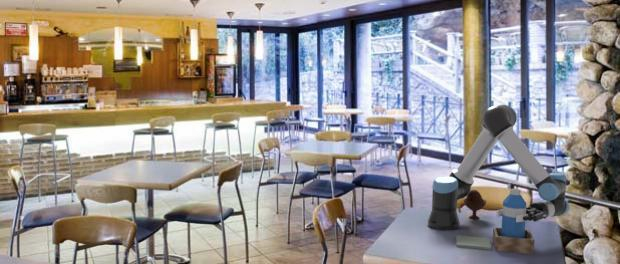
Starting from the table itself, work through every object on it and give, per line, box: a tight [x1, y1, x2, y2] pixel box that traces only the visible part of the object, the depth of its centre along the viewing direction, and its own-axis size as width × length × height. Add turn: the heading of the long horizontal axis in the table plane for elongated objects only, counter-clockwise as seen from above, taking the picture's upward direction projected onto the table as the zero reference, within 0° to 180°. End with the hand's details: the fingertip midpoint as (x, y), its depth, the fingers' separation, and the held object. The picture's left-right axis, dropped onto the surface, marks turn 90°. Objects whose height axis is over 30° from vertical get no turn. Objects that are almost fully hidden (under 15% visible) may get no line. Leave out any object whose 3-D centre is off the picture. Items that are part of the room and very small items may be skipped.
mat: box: [456, 235, 492, 251], centre depth 235 cm, size 14×14×1 cm
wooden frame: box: [492, 226, 535, 255], centre depth 231 cm, size 15×15×6 cm
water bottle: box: [501, 188, 527, 238], centre depth 230 cm, size 9×9×25 cm
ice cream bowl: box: [463, 189, 487, 221], centre depth 276 cm, size 11×11×15 cm
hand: (506, 216), depth 227 cm, fingers closed on water bottle, 9 cm apart
